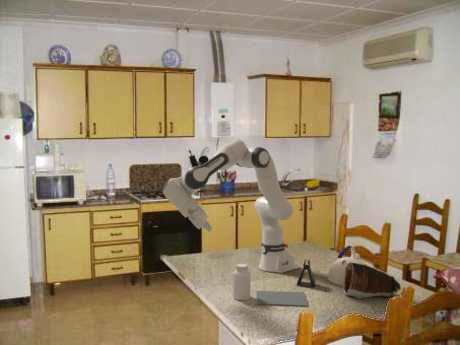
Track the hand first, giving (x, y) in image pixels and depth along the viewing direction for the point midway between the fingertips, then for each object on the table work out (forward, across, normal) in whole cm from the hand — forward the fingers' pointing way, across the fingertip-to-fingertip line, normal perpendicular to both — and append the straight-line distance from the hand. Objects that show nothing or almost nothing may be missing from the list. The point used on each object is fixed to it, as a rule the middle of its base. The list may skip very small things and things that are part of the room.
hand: (210, 230), depth 212 cm
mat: (+44, -6, -2) cm, 44 cm away
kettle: (+70, +24, -28) cm, 79 cm away
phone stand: (+54, +15, -12) cm, 57 cm away
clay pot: (+74, +3, -33) cm, 81 cm away
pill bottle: (+31, -6, +10) cm, 34 cm away
